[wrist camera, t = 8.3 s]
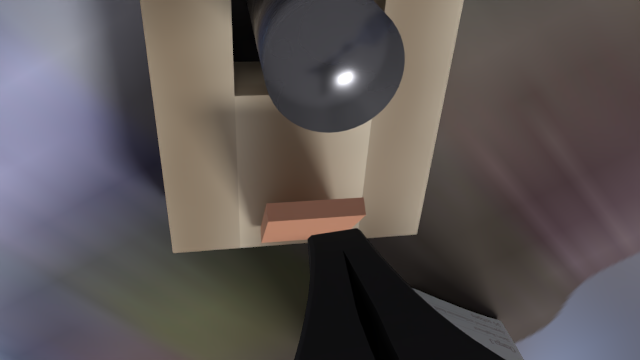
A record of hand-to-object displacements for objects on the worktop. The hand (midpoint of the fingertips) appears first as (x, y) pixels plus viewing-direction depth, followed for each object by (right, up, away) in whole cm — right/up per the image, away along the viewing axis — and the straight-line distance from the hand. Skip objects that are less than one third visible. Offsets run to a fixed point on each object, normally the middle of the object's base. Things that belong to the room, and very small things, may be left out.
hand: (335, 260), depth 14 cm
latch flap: (-1, +1, +5) cm, 5 cm away
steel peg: (-1, +9, +5) cm, 10 cm away
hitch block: (-1, +7, +6) cm, 9 cm away
